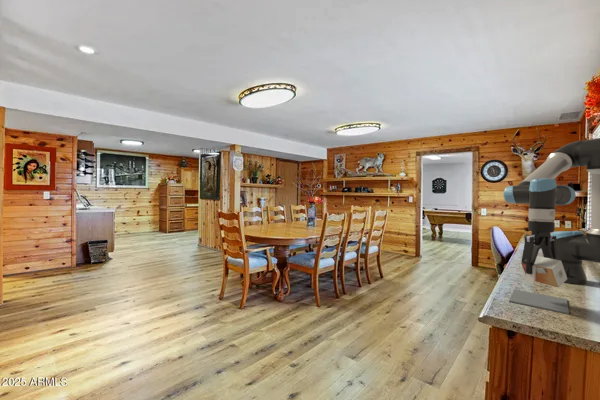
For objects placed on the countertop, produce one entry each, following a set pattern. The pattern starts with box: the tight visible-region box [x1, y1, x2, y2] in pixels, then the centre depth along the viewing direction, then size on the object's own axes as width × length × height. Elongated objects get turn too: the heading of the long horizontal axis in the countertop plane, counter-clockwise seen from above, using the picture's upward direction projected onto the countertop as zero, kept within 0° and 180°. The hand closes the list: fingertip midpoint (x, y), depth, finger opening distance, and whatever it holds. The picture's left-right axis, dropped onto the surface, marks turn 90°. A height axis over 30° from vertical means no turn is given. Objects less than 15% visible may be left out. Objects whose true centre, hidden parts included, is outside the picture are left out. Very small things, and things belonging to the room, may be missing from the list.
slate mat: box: [508, 288, 570, 315], centre depth 108 cm, size 18×16×1 cm
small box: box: [520, 255, 567, 288], centre depth 107 cm, size 8×6×10 cm
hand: (539, 281), depth 108 cm, fingers closed on small box, 9 cm apart
